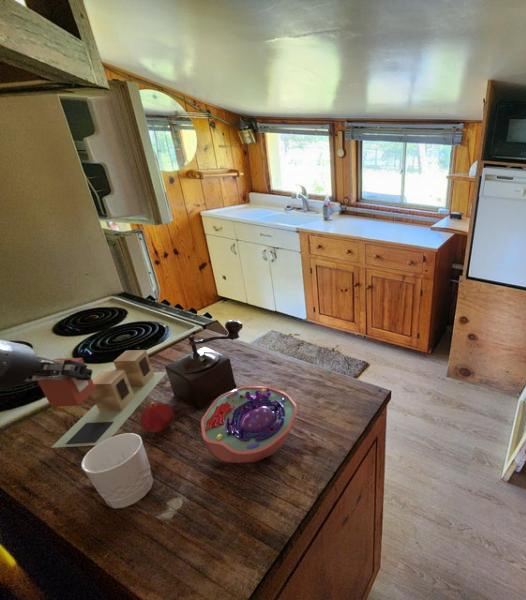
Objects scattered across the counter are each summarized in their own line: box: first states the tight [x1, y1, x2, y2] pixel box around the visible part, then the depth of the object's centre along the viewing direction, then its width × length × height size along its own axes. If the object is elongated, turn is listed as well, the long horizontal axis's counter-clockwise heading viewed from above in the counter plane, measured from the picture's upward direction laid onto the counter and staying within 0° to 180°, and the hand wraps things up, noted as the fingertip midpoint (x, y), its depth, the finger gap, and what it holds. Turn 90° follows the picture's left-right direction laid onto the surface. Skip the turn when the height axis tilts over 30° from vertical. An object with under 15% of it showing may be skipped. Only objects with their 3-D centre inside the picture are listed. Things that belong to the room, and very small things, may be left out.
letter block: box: [36, 357, 96, 408], centre depth 64 cm, size 5×5×8 cm
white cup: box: [80, 432, 155, 509], centre depth 57 cm, size 8×8×10 cm
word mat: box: [50, 371, 167, 449], centre depth 77 cm, size 10×24×1 cm, turn 6°
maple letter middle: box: [90, 370, 135, 412], centre depth 75 cm, size 5×5×8 cm
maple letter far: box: [112, 349, 155, 387], centre depth 83 cm, size 5×5×8 cm
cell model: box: [200, 385, 298, 464], centre depth 67 cm, size 17×20×11 cm
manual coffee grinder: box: [164, 319, 243, 411], centre depth 81 cm, size 16×11×18 cm
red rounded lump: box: [139, 401, 175, 433], centre depth 69 cm, size 6×6×8 cm
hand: (73, 375), depth 65 cm, fingers closed on letter block, 5 cm apart
